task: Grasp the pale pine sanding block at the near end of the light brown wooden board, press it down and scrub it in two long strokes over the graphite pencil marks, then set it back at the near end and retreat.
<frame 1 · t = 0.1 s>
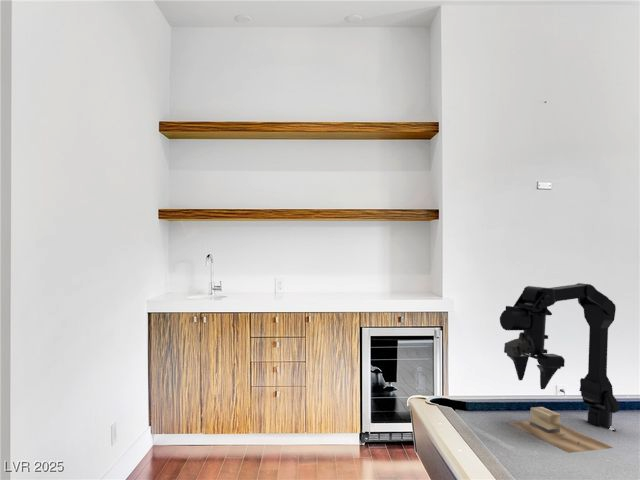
hand: (531, 384, 146), 14 cm above the table, fingers open, 9 cm apart
light brown wooden board: (557, 438, 143), on the table
sanding block: (544, 428, 147), point 1 cm above the table, touching light brown wooden board
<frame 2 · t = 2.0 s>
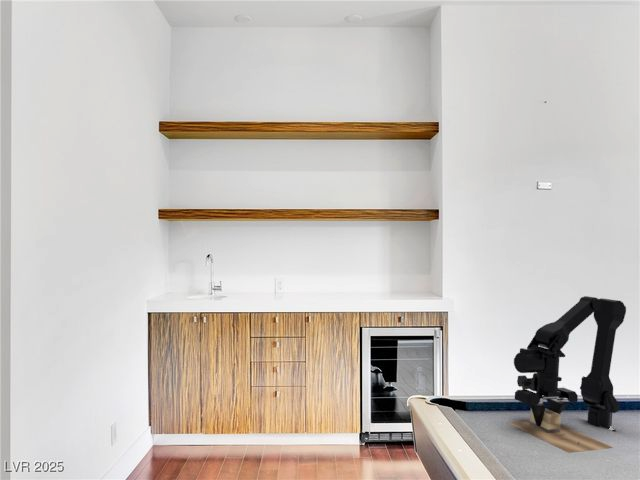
hand: (544, 425, 147), 2 cm above the table, fingers closed on sanding block, 4 cm apart
sanding block: (544, 428, 147), point 1 cm above the table, touching gripper, light brown wooden board
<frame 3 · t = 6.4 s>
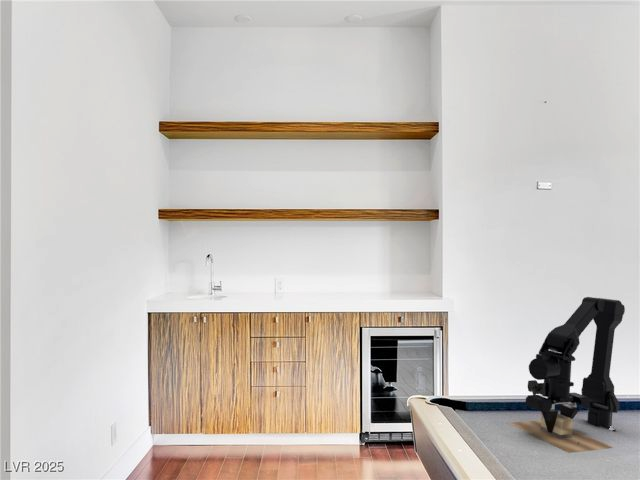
hand: (556, 431, 144), 2 cm above the table, fingers closed on sanding block, 4 cm apart
sanding block: (555, 433, 144), point 1 cm above the table, touching gripper
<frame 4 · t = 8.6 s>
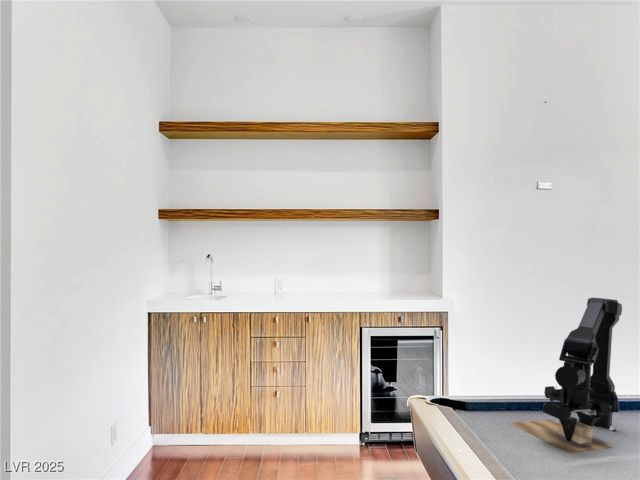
hand: (574, 440, 138), 2 cm above the table, fingers closed on sanding block, 4 cm apart
sanding block: (574, 441, 138), point 1 cm above the table, touching gripper
when the fingers open (2 cm above the table, at t = 10.8 s): sanding block stays where it is, resting on light brown wooden board.
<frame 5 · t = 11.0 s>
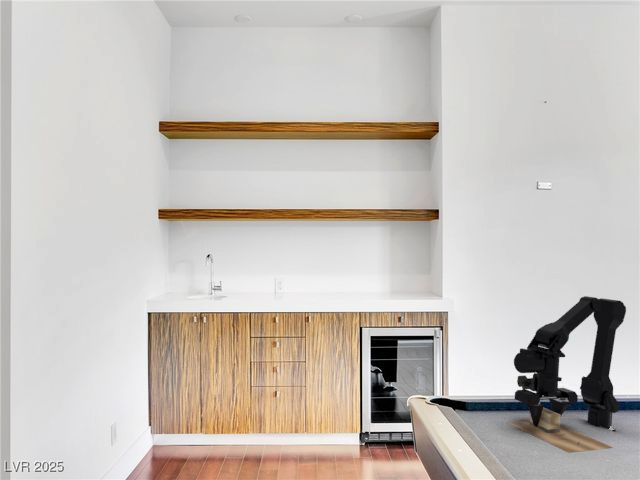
hand: (544, 425, 147), 2 cm above the table, fingers open, 6 cm apart
sanding block: (544, 428, 147), point 1 cm above the table, touching light brown wooden board
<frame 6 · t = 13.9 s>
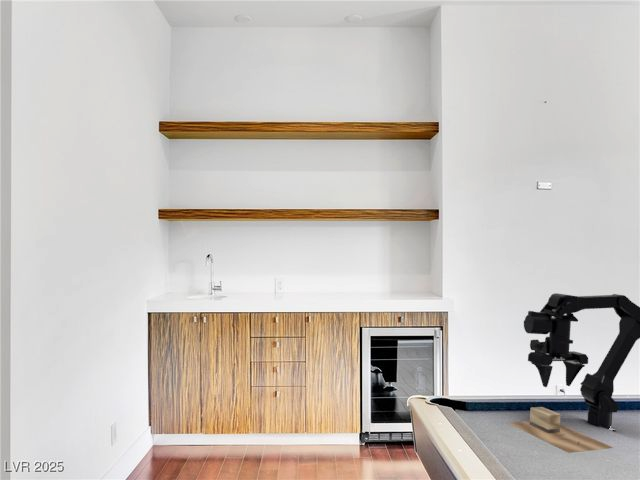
hand: (556, 386, 154), 12 cm above the table, fingers open, 9 cm apart
nothing on the table moved.
at the end: sanding block inside the target area on the light brown wooden board (2.1 cm from its centre), point 1.2 cm above the light brown wooden board's base; sanding block tilted 0°; the gripper is holding nothing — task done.
